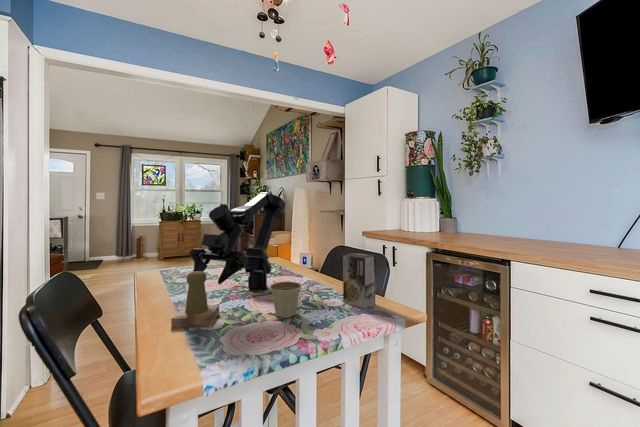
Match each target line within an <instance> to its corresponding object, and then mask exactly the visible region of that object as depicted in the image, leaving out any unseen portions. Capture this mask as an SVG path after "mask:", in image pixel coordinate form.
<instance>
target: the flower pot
mask: <svg viewBox="0 0 640 427" xmlns="http://www.w3.org/2000/svg"><path fill="white" fill-rule="evenodd" d="M301 288H302V284H301V283H300V282H295V281H281V282H275V283H272V284H270V285H269V289H270V290H271V292H270V293H272V300H273V306H274V311H275V313H274V314H275V316H276V317H279V318H281V319H288V318H292V317H293V316H294V317H295V316H296V315H297V312H298V304H299V297H300V296H299V295H300V292H301Z"/></svg>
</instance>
